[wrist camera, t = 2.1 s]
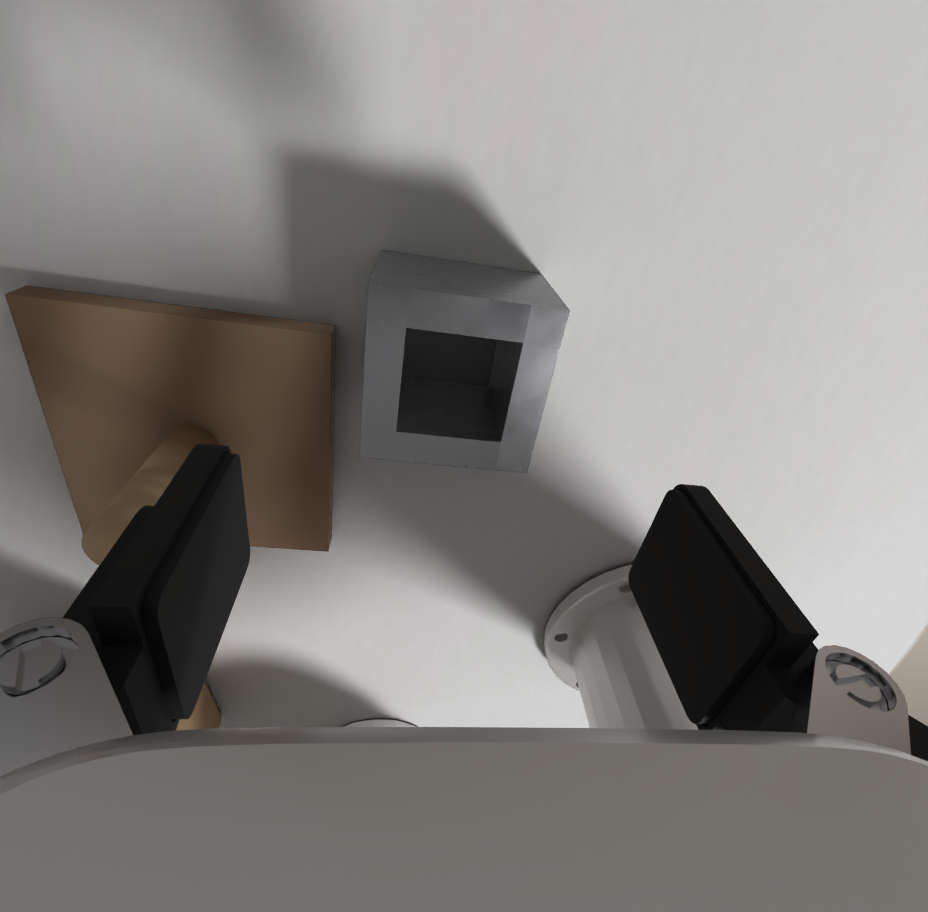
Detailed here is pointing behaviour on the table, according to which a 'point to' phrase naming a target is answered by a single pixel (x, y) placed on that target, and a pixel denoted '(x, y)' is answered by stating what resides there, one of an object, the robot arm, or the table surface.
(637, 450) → the table surface
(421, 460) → the collar
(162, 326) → the post base
